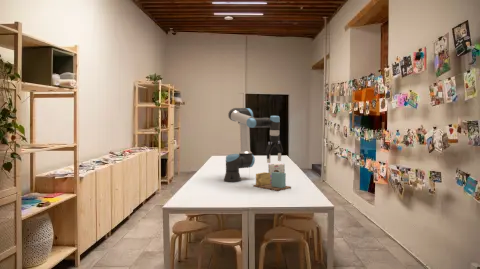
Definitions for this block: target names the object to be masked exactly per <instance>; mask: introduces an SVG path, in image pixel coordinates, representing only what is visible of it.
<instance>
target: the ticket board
mask: <svg viewBox="0 0 480 269" xmlns="http://www.w3.org/2000/svg"><path fill="white" fill-rule="evenodd" d="M253 187H255V188H260V189H265V190H271V191H276V192H280V191H285V190H289V189H292V186H289V185H286V187H283V188H279V187H273V186H272V183H270V173H269V172H258V173H255V184H253Z"/></svg>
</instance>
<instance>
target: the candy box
mask: <svg viewBox="0 0 480 269" xmlns="http://www.w3.org/2000/svg"><path fill="white" fill-rule="evenodd" d="M272 172H281V173H286V171H285V163H268V173H270V183H272Z"/></svg>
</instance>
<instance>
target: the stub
mask: <svg viewBox="0 0 480 269" xmlns="http://www.w3.org/2000/svg"><path fill="white" fill-rule="evenodd" d="M286 175H287V174H286V172H285V173H281V172H272V186H273V187H279V188H283V187H286V186H287V185H286V182H287V181H286Z"/></svg>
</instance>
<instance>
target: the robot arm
mask: <svg viewBox="0 0 480 269" xmlns="http://www.w3.org/2000/svg"><path fill="white" fill-rule="evenodd" d="M227 116H228V118H229V120H230V121H232V122H237V124H238V125H239V138H240V139H239V140H240V141H239V142H240V152H239V153H231V154H227V155H226V157H225V174H224V177H223V181H224V182H227V183H238V182H242V177H241V174H240V169H246V168H247V169H248V168H252V167H253V166H254V165H255V160H256V159H255V155H254V154H253V152H252V151H251V138H250V134H251V133H250V128H253V129H254V128H269V140H270V141H267V146H266V149H265V151H264V154H265V155H266V163H267V164H271V152H272V151H273V149H274V148H276V150H277V152H278V153H277V162H282V154H283V153H284V149H283V146H282V141H281V140H280V126H281V122H280V120H281V118H280V116H279V115H270V117H254V112H253V110H252V109H251V108H249V107H248V108H247V107H233V108H231V109H230V110H229V111H228V115H227Z"/></svg>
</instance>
